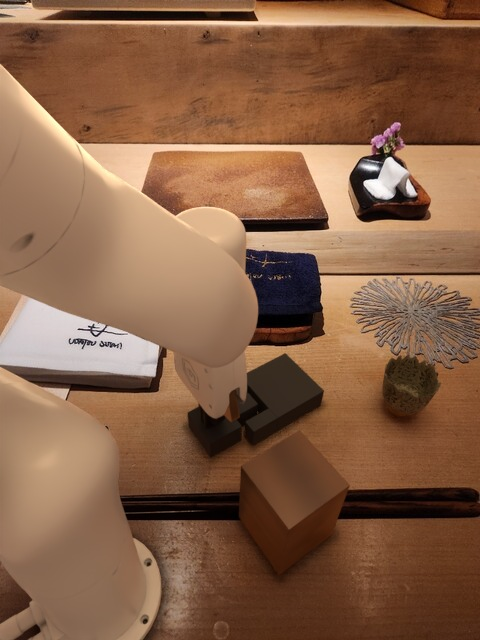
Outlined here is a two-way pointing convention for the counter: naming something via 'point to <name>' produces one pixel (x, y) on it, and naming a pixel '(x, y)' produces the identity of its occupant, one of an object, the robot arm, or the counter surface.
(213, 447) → the small pad
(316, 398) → the base pad
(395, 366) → the cup
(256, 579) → the counter surface
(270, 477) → the block
